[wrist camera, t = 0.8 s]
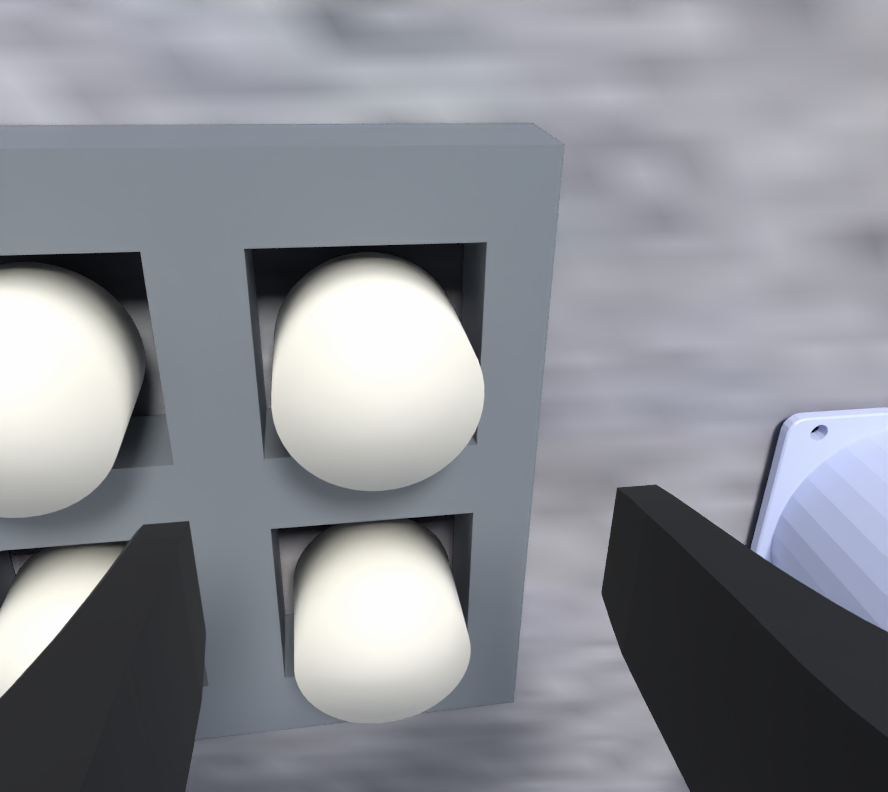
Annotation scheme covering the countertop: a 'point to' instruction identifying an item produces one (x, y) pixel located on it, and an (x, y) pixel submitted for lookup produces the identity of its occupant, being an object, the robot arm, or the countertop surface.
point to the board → (241, 369)
